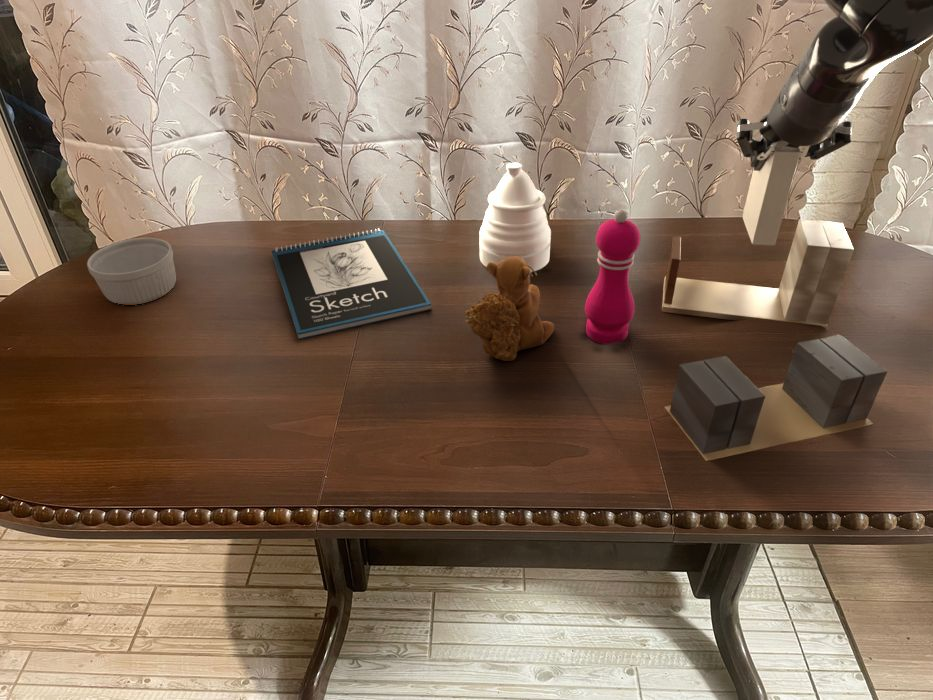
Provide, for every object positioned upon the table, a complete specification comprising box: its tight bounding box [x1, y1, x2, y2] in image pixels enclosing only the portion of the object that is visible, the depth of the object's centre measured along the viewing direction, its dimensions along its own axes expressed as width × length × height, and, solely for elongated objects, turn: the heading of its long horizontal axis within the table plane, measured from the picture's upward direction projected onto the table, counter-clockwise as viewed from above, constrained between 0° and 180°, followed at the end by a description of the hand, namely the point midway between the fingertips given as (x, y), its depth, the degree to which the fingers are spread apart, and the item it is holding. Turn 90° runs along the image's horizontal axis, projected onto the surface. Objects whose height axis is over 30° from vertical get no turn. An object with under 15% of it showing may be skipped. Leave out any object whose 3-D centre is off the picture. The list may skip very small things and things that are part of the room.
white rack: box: [661, 218, 855, 330], centre depth 101 cm, size 24×10×14 cm, turn 74°
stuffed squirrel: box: [464, 256, 555, 362], centre depth 94 cm, size 10×14×13 cm
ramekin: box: [86, 237, 177, 305], centre depth 111 cm, size 13×13×7 cm
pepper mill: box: [584, 209, 641, 345], centre depth 94 cm, size 7×7×20 cm
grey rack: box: [664, 334, 888, 462], centre depth 80 cm, size 23×10×8 cm, turn 104°
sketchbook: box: [271, 227, 433, 340], centre depth 114 cm, size 22×30×2 cm
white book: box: [741, 135, 800, 247], centre depth 89 cm, size 3×9×13 cm, turn 169°
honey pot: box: [478, 162, 552, 273], centre depth 115 cm, size 13×13×18 cm
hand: (770, 164), depth 90 cm, fingers closed on white book, 3 cm apart
